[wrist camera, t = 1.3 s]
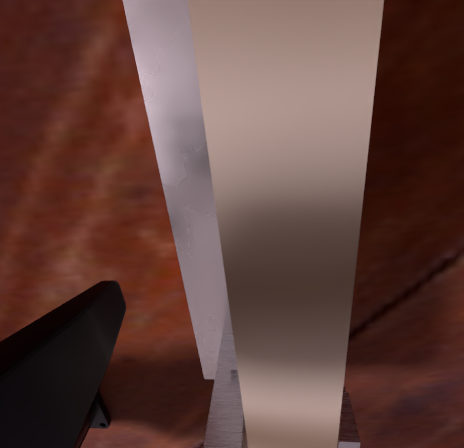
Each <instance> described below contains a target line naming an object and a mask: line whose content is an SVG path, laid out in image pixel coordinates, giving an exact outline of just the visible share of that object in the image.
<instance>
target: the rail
mask: <svg viewBox="0 0 464 448" xmlns="http://www.w3.org/2000/svg"><path fill="white" fill-rule="evenodd" d="M187 1H188V8H189V15H190V23H191V30H192V37H193V45H194V52H195V59H196V67H197V74H198V81H199V89H200V96H201V104H202V111H203V118H204V126H205V133H206V140H207V148H208V155H209V162H210V170H211V177H212V184H213V192H214V199H215V206H216V214H217V221H218V229H219V236H220V243H221V251H222V258H223V265H224V273H225V280H226V287H227V295H228V302H229V309H230V317H231V324H232V331H233V339H234V346H235V354H236V361H237V368H238V376H239V383H240V390H241V398H242V405H243V412H244V420H245V427H246V434H247V442H248V448H337V443H338V434H339V424H340V414H341V405H342V395H343V386H344V376H345V367H346V357H347V348H348V338H349V329H350V319H351V310H352V300H353V291H354V281H355V272H356V262H357V253H358V243H359V234H360V224H361V215H362V205H363V196H364V186H365V176H366V167H367V157H368V148H369V138H370V129H371V119H372V110H373V100H374V91H375V81H376V72H377V62H378V53H379V43H380V34H381V24H382V15H383V5H384V0H187Z"/></svg>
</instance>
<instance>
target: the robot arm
mask: <svg viewBox="0 0 464 448" xmlns="http://www.w3.org/2000/svg"><path fill="white" fill-rule="evenodd" d="M125 311H126V303H125V300H124V297H123V294H122V291H121V288H120V285H119V283H118V282H117V281H101V282H99V283H97V284H96V285H94V286H92V287H91V288H89V289H87V290H86V291H84V292H82V293H81V294H79V295H77V296H76V297H74V298H72V299H71V300H69V301H67V302H66V303H64V304H62V305H61V306H59V307H57V308H56V309H54V310H52V311H51V312H49V313H47V314H46V315H44V316H42V317H41V318H39V319H37V320H36V321H34V322H32V323H31V324H29V325H27V326H26V327H24V328H23V329H21V330H19V331H18V332H16V333H14V334H13V335H11V336H9V337H8V338H6V339H4V340H3V341H1V342H0V448H80V447H81V445H82V443H83V441H84V439H85V437H86V435H87V433H88V431H89V428H104V429H105V428H108V427H109V425H110V423H111V419H110V417H109V415H108V413H107V410H106V408H105V406H104V404H103V402H102V400H101V398H100V396H99V394H98V388H99V386H100V384H101V381H102V379H103V377H104V374H105V372H106V369H107V367H108V365H109V362H110V359H111V356H112V353H113V350H114V347H115V343H116V340H117V337H118V334H119V331H120V328H121V324H122V321H123V318H124V315H125Z"/></svg>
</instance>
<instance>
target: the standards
mask: <svg viewBox="0 0 464 448" xmlns="http://www.w3.org/2000/svg"><path fill="white" fill-rule="evenodd" d="M123 4H124V8H125V13H126V18H127V22H128V27H129V32H130V36H131V41H132V46H133V50H134V55H135V59H136V64H137V69H138V73H139V78H140V83H141V87H142V92H143V97H144V101H145V106H146V111H147V115H148V120H149V124H150V129H151V134H152V138H153V143H154V148H155V152H156V157H157V162H158V166H159V171H160V176H161V180H162V185H163V189H164V194H165V199H166V203H167V208H168V213H169V217H170V222H171V227H172V231H173V236H174V241H175V245H176V250H177V254H178V259H179V264H180V268H181V273H182V278H183V282H184V287H185V292H186V296H187V301H188V306H189V310H190V315H191V320H192V324H193V329H194V333H195V338H196V343H197V347H198V352H199V357H200V361H201V366H202V371H203V375H204V379H215V380H214V386H213V392H212V398H211V404H210V410H209V416H208V422H207V428H206V434H205V440H204V447H203V448H248V442H247V434H246V427H245V420H244V412H243V405H242V398H241V390H240V383H239V376H238V368H237V361H236V354H235V346H234V339H233V331H232V324H231V317H230V309H229V302H228V295H227V287H226V280H225V273H224V265H223V258H222V251H221V243H220V236H219V229H218V221H217V214H216V206H215V199H214V192H213V184H212V177H211V170H210V162H209V155H208V148H207V140H206V133H205V126H204V118H203V111H202V104H201V96H200V89H199V81H198V74H197V67H196V59H195V52H194V45H193V37H192V30H191V23H190V15H189V8H188V1H187V0H123ZM360 443H361V442H360V438H359V434H358V430H357V426H356V422H355V418H354V414H353V410H352V406H351V402H350V398H349V393H346V391H345V387H344V386H343V395H342V405H341V414H340V424H339V434H338V443H337V448H360Z"/></svg>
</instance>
